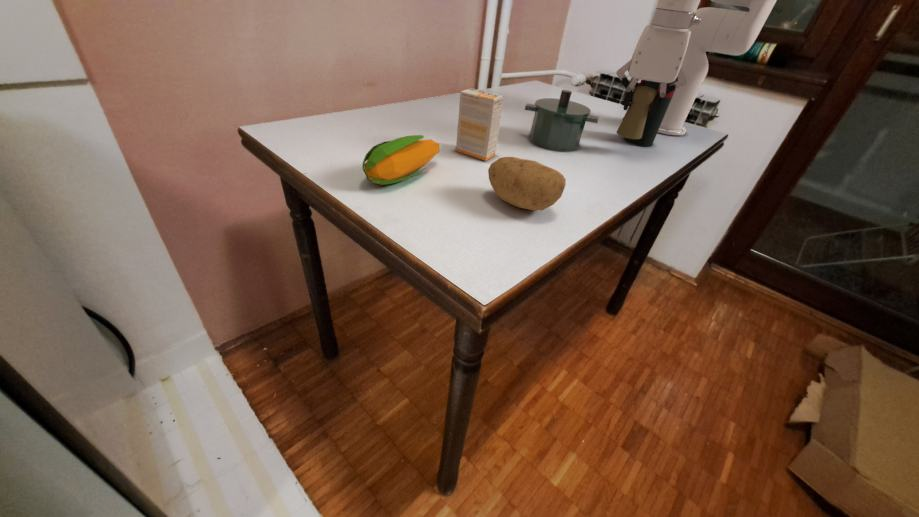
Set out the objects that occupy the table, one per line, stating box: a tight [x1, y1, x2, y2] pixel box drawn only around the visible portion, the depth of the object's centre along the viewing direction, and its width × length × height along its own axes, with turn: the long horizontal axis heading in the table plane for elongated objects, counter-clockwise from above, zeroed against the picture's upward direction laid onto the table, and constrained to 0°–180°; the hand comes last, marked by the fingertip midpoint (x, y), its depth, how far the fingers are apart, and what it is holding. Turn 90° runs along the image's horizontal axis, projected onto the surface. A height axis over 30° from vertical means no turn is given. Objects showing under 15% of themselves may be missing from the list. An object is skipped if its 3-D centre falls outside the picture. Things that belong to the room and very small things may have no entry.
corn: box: [361, 134, 441, 186], centre depth 69 cm, size 7×8×20 cm
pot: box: [524, 103, 599, 152], centre depth 93 cm, size 13×18×8 cm
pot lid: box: [534, 89, 592, 117], centre depth 89 cm, size 14×14×5 cm
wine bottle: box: [620, 78, 677, 148], centre depth 93 cm, size 8×10×30 cm
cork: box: [616, 85, 656, 139], centre depth 87 cm, size 6×6×11 cm
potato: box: [487, 156, 567, 211], centre depth 64 cm, size 10×14×8 cm
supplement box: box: [455, 87, 505, 162], centre depth 80 cm, size 8×5×13 cm, turn 57°
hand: (638, 110), depth 87 cm, fingers closed on cork, 5 cm apart
